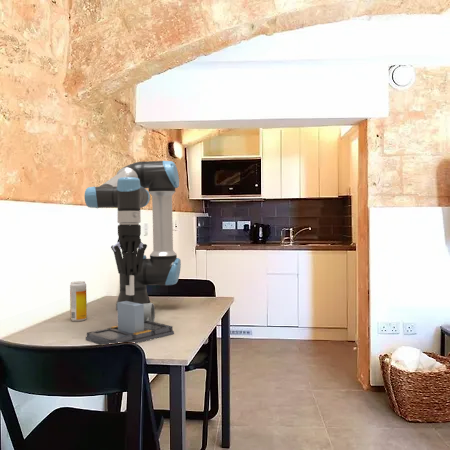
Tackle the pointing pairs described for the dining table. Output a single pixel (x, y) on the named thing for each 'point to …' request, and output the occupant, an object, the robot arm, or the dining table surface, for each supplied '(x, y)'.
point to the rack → (129, 334)
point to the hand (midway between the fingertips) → (130, 294)
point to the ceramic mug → (149, 312)
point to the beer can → (78, 301)
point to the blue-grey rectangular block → (130, 316)
